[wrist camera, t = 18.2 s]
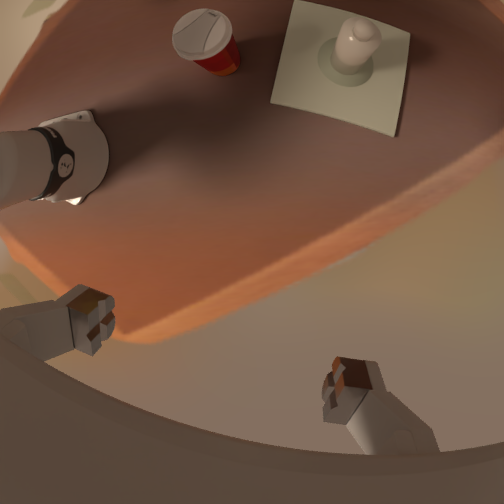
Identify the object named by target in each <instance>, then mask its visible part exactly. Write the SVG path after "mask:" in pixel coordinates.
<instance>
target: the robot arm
mask: <svg viewBox="0 0 504 504" xmlns="http://www.w3.org/2000/svg"><path fill="white" fill-rule="evenodd" d="M81 116H82V118H81ZM108 161H109V149H108V144H107V140H106V137H105V135H104V133H103V132H102V130H101V129H100V128H99V127H98V126H97V125H96V123H95V121H94V118H93V115H92V113H91V111H89V110H85V111H80V112H76V113H73V114H69V115H65V116H62V117H58V118H55V119H51V120H48V121H45V122H42V123H40V125H39V126H38V127H35V128H31V129H29V130H26V131H7V132H0V210H2V209H4V208H6V207H9V206H12V205H14V204H17V203H20V202H23V201H26V200H31V201H34V200H41V199H45V198H46V200H51V201H52V202H53V203H56V202H61V201H68V202H69V203H71V204H73V205H79V204H80V203H81V202H82V201H83V199H84V198H85V196H86V195H87V194H88V193H89V192H91V191H93V190H94V189H95V188H96V187H97V186H98V185H99V184H100V183H101V181H102V180H103V178H104V176H105V173H106V170H107V167H108ZM114 307H115V302H114V298H113V297H112V296H110V295H108V294H105V293H103V292H100V291H98V290H95V289H93V288H90V287H87V286H85V285H82V284H78V285H77V286H75V287H74V288H73V289H71V290H70V291H68V292H67V293H66V294H64V295H63V296H61V297H60V298H59V299H57V300H56V301H53V300H49V301H44V302H38V303H32V304H26V305H21V306H15V307H9V308H3V309H1V310H0V504H504V442H500V443H497V444H492V445H487V446H481V447H476V448H469V449H462V450H455V451H446V452H440V450H439V448H438V445H437V442H436V439H435V436H434V433H433V431H432V429H431V428H430V427H429V426H428V425H427V424H426V423H424V422H423V421H422V420H421V419H420V418H419V417H418V416H416V414H414V413H413V412H412V411H411V410H410V409H409V408H408V407H407V406H405V405H404V404H403V403H402V402H401V401H400V400H399V399H398V398H397V397H395V396H394V395H393V394H392V393H391V392H387V391H386V388H385V385H384V381H383V378H382V375H381V372H380V369H379V366H378V363H377V362H375V361H366V360H357V359H350V358H344V357H338V356H337V357H336V358H335V360H334V361H333V364H332V372H330V373H329V374H327V376H326V378H325V380H324V383H323V387H322V399H323V400H324V401H325V404H324V406H323V419H324V422H329V423H336V424H343V425H346V427H347V428H348V430H349V431H350V432H351V434H352V435H353V437H354V438H355V440H356V441H357V443H358V444H359V445H360V447H361V448H362V450H363V451H364V452H365V454H366V455H359V454H342V453H328V452H318V451H309V450H300V449H293V448H287V447H280V446H274V445H268V444H263V443H258V442H253V441H248V440H243V439H239V438H235V437H230V436H226V435H222V434H218V433H215V432H211V431H207V430H203V429H200V428H197V427H193V426H190V425H187V424H183V423H180V422H177V421H174V420H171V419H168V418H165V417H162V416H159V415H156V414H154V413H151V412H148V411H146V410H143V409H141V408H138V407H135V406H133V405H130V404H128V403H126V402H123V401H121V400H118V399H116V398H114V397H112V396H109V395H107V394H105V393H102V392H100V391H98V390H96V389H94V388H92V387H90V386H88V385H86V384H84V383H82V382H80V381H78V380H76V379H74V378H72V377H70V376H68V375H66V374H64V373H63V372H61V371H58V370H57V369H55V368H54V367H52V366H50V365H48V364H47V363H45V362H44V361H46V360H49V359H51V358H54V357H56V356H59V355H61V354H64V353H66V352H69V351H71V350H74V348H75V349H77V350H79V351H82V352H84V353H86V354H89V355H91V356H93V355H94V354H95V353H96V352H97V351H98V350H99V348H100V347H101V346H102V345H101V341H104V340H107V339H108V338H109V337H110V336H111V335H112V332H113V330H114V327H115V316H114V314H113V312H112V309H113V308H114Z"/></svg>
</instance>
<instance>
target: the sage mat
mask: <svg viewBox="0 0 504 504" xmlns="http://www.w3.org/2000/svg"><path fill="white" fill-rule="evenodd" d="M352 17H361V18H365V19H367V20H369V21H371V22H373V23H374V24H375V25H376V26H377V27H378V29H379V30H380V32H381V36H382V41H381V44H380V45H379V47H378V48H377V49H376V50H375V52H374V53H373V54H372V55H371V56H370V58H369V59H368V60H367V61H366V63H365V64H364V65H363V66H362V67H361V69H360V70H359V71H358V72H357V73H355V74H353V75H343V74H341V73H339V72H337V71H336V70H335V69H334V68H333V67H332V65H331V62H330V56H331V53H332V51H333V48H334V45H335V43H336V40H337V38H338V35H339V32H340V30H341V27H342V25H343V23H344V22H345V21H346V20H347V19H349V18H352ZM409 42H410V33H408V32H406V31H403V30H401V29H398V28H396V27H393V26H390V25H388V24H385V23H382V22H379V21H376V20H374V19H371V18H368V17H364V16H361V15H358V14H355V13H351V12H348V11H344V10H340V9H337V8H333V7H329V6H324V5H320V4H315V3H311V2H306V1H300V0H294V3H293V7H292V11H291V15H290V20H289V24H288V28H287V32H286V36H285V40H284V45H283V49H282V53H281V57H280V62H279V66H278V70H277V75H276V79H275V83H274V88H273V92H272V96H271V101H270V103H271V104H276V105H281V106H285V107H290V108H294V109H299V110H303V111H307V112H311V113H315V114H319V115H323V116H326V117H330V118H334V119H337V120H341V121H344V122H347V123H351V124H354V125H357V126H360V127H363V128H367V129H370V130H373V131H376V132H378V133H381V134H384V135H387V136H390V137H394V135H395V130H396V125H397V120H398V115H399V110H400V104H401V99H402V93H403V87H404V80H405V74H406V67H407V59H408V51H409Z"/></svg>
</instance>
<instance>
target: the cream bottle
mask: <svg viewBox="0 0 504 504" xmlns="http://www.w3.org/2000/svg"><path fill="white" fill-rule="evenodd" d="M381 41H382V36H381V32H380V30H379V29H378V27H377V26H376V25H375V24H374V23H373V22H371V21H369V20H367V19H365V18H361V17H352V18H349V19H347V20H346V21H345V22H344V23H343V25H342V27H341V30H340V32H339V35H338V38H337V40H336V43H335V45H334V48H333V51H332V53H331V56H330V62H331V65H332V67H333V68H334V69H335V70H336V71H337V72H339V73H341V74H343V75H353V74H355V73H357V72H358V71H359V70H360V69H361V67H362V66H363V65H364V64H365V63H366V61H367V60H368V59H369V58H370V56H371V55H372V54H373V53H374V52H375V50H376V49H377V48H378V47H379V45H380V44H381Z"/></svg>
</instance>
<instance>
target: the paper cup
mask: <svg viewBox="0 0 504 504" xmlns="http://www.w3.org/2000/svg"><path fill="white" fill-rule="evenodd" d="M172 42H173V46H174V49H175V50H176V52H177V53H178V55H179V56H180V57H182V58H184V59H186V60H193V61H194V62H196V63H197V64H199V65H200V66H202V67H203V68H205V69H206V70H208V71H210V72H211V73H213V74H215V75H218V76H226V75H229V74H231V73H233V72H234V71H235V70H236V69H237V68H238V67H239V64H240V54H239V51H238V48H237V45H236V43H235V40H234V37H233V35H232V25H231V22H230V20H229V19H228V18H227V17H226V16H225V15H224V14H223V13H221V12H219V11H216V10H209V9H197V10H194V11H191V12H189V13H187V14H185V15H184V16H183V17H182V18H181V19H180V20H179V21H178V22H177V23H176V25H175V27H174V29H173V33H172Z"/></svg>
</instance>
